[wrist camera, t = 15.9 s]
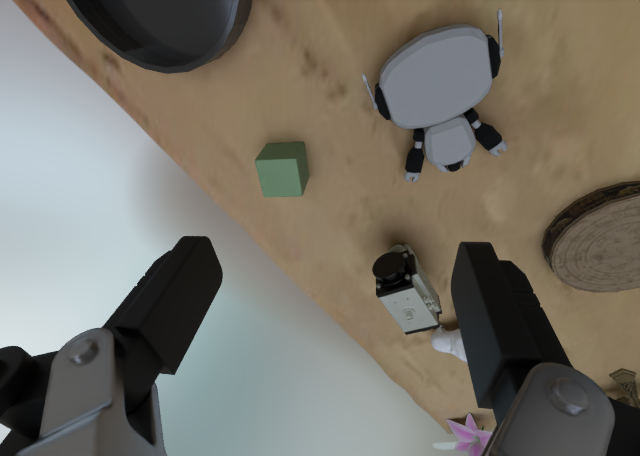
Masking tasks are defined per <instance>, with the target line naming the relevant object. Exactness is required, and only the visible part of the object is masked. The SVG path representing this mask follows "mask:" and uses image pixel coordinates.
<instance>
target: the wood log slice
mask: <svg viewBox="0 0 640 456" xmlns="http://www.w3.org/2000/svg"><path fill="white" fill-rule="evenodd" d="M542 248H543V253H544V258H545V259H546V261H547V262H548V264H549V265H550V267H551V269H552V270H553V272H554V273H555V274H556V275H557V277H558V278H559V279H560V280H561V281H562V282H563V283H565V284H567V285H569V286H571V287H573V288H575V289H579V290H584V291H589V292H618V291H624V290H629V289H634V288H639V287H640V181H636V182H624V183H620V184H616V185H613V186H609V187H606V188H603V189H599V190H596V191H594V192H592V193H590V194H589V195H587V196H585V197H583V198H581V199H579V200H577V201H575V202H573V203H572V204H571V205H570V206H568V207H567V208H566V209H565V210H564V211H562V212H561V213H560V214H559V215H557V216H556V218H555V219H554V220H553V222H552V223H551V225H550V226H549V227H548V229H547V230H546V232H545V236H544V239H543V243H542Z"/></svg>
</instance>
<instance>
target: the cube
mask: <svg viewBox="0 0 640 456" xmlns="http://www.w3.org/2000/svg"><path fill="white" fill-rule="evenodd" d="M255 163H256V167H257V171H258V175H259V179H260V183H261V187H262V191H263V195H264V197H290V196H303V193H304V190H305V187H306V185H307V182H308V179H309V172H308V165H307V158H306V151H305V144H304V142H294V143H274V144H266V145H265V147H264V148H263V150H262V151H261V153H260V154H259V155H258V157H257V158H256V160H255Z"/></svg>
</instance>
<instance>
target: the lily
mask: <svg viewBox="0 0 640 456" xmlns="http://www.w3.org/2000/svg"><path fill="white" fill-rule="evenodd" d="M447 422H448V424H449V426H450V428H451V429H452V431H453V432H454V434H455V435H456V436H457V437H458V438H459V441H458V442H457V444H456V446H455V450H457V451H460V452H463V453H467V454H468V456H481V454H482V452H483V450H484V448H485V446H486V444H487V442H488V440H489V438H490V437H491V435H492V433H493V432H488V431H483V429H484V426H483V427H482V430H478V428H477V426H476V424H475V422H474V420H473V418H472V416H471V414H470V413H468V415H467V419H466V426H464V425H461V424H459V423H456V422H454V421H452V420H447Z"/></svg>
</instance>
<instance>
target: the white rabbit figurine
mask: <svg viewBox="0 0 640 456" xmlns="http://www.w3.org/2000/svg"><path fill="white" fill-rule="evenodd" d="M441 325H442V324H441ZM441 325H440V326H441ZM441 327H442V326H441ZM441 327H438V328H437V329H436V330H435V332H434V333H433V334H432V335H431V344H432V346H433V347H434V349H436V350H437V351H440V352H445V353H451V354H453V355H456V356H457V357H458V358H459V359H460V360H463V361H465V362H466V363H467V359H466V354H465V350H464V346H463V342H462V338H461V333H460V329H456V330H454V331H446V329H445V328H441ZM467 364H468V363H467Z"/></svg>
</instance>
